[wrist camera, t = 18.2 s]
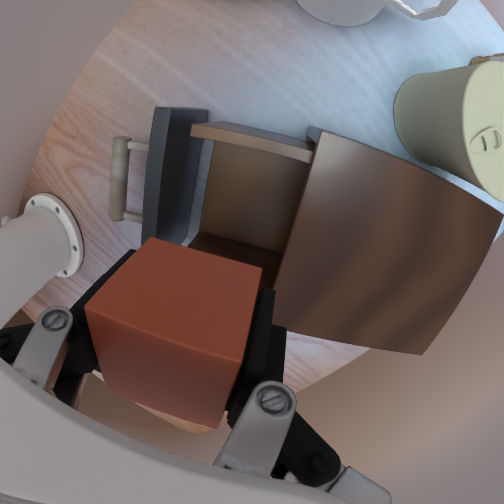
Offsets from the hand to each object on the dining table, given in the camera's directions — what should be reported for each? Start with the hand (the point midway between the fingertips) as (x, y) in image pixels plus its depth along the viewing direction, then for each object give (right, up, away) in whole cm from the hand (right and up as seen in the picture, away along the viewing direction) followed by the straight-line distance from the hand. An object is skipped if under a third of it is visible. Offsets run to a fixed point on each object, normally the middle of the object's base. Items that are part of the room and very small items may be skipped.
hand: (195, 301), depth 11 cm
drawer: (0, +8, +14) cm, 16 cm away
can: (+19, +14, +9) cm, 26 cm away
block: (0, 0, 0) cm, 0 cm away
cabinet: (+13, +5, +14) cm, 20 cm away
